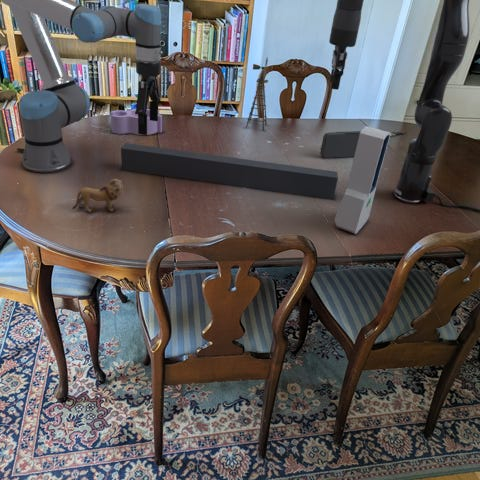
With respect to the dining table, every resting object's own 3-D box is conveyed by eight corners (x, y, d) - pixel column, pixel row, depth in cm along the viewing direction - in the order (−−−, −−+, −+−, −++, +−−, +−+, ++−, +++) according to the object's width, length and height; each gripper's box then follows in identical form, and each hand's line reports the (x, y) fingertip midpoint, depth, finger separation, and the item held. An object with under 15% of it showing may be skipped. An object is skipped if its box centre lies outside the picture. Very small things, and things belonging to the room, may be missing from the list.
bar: (121, 170, 161) (120, 148, 157) (126, 164, 165) (125, 142, 161) (333, 199, 157) (338, 177, 153) (332, 192, 161) (337, 171, 157)
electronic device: (355, 236, 138) (381, 139, 122) (331, 227, 141) (354, 131, 125) (368, 219, 147) (394, 127, 131) (346, 211, 150) (369, 121, 134)
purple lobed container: (113, 135, 186) (112, 118, 182) (110, 125, 196) (109, 108, 192) (163, 134, 192) (163, 118, 189) (157, 124, 202) (157, 108, 198)
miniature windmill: (263, 130, 207) (272, 60, 191) (245, 127, 208) (252, 57, 192) (266, 124, 215) (275, 56, 199) (248, 121, 216) (256, 53, 200)
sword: (401, 131, 224) (402, 128, 223) (406, 133, 222) (407, 131, 221) (358, 142, 208) (358, 140, 207) (363, 145, 206) (363, 142, 205)
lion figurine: (122, 202, 142) (121, 175, 137) (125, 210, 138) (124, 183, 133) (71, 206, 137) (68, 178, 132) (73, 215, 133) (69, 187, 128)
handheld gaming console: (367, 153, 195) (373, 130, 190) (371, 156, 193) (377, 132, 188) (318, 155, 188) (323, 131, 183) (321, 158, 186) (326, 134, 181)
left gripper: (149, 71, 133) (149, 141, 145) (169, 54, 154) (168, 116, 166) (123, 68, 134) (125, 138, 145) (147, 51, 154) (147, 113, 166)
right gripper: (361, 32, 125) (348, 93, 134) (356, 24, 137) (344, 81, 146) (333, 29, 125) (321, 90, 134) (331, 21, 137) (320, 78, 146)
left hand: (148, 127), depth 155 cm, fingers open, 13 cm apart
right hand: (333, 85), depth 140 cm, fingers open, 8 cm apart
